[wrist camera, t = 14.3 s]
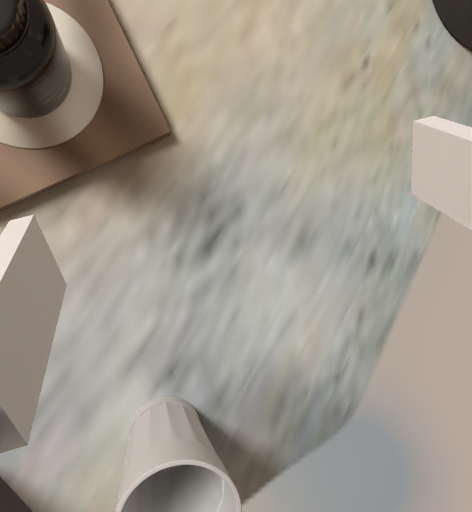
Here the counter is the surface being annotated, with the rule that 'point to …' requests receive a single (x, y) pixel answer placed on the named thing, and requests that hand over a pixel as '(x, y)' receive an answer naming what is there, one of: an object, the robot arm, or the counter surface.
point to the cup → (173, 463)
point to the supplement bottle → (31, 60)
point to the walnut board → (81, 108)
